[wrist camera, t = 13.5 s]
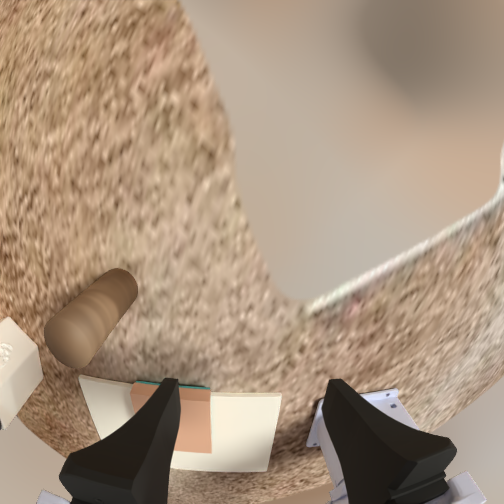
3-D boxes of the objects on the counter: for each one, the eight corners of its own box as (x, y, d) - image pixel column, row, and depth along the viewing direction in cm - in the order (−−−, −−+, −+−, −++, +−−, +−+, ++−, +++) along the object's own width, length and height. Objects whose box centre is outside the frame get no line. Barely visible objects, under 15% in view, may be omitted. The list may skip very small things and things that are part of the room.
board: (280, 392, 25) (281, 396, 24) (266, 467, 28) (266, 471, 28) (80, 374, 23) (78, 377, 23) (110, 453, 27) (109, 456, 26)
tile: (210, 401, 22) (211, 453, 23) (210, 386, 23) (212, 439, 25) (129, 393, 21) (144, 446, 23) (135, 379, 23) (147, 433, 25)
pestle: (136, 269, 21) (84, 322, 12) (139, 307, 22) (96, 372, 13) (100, 267, 21) (38, 314, 12) (104, 304, 22) (51, 363, 13)
